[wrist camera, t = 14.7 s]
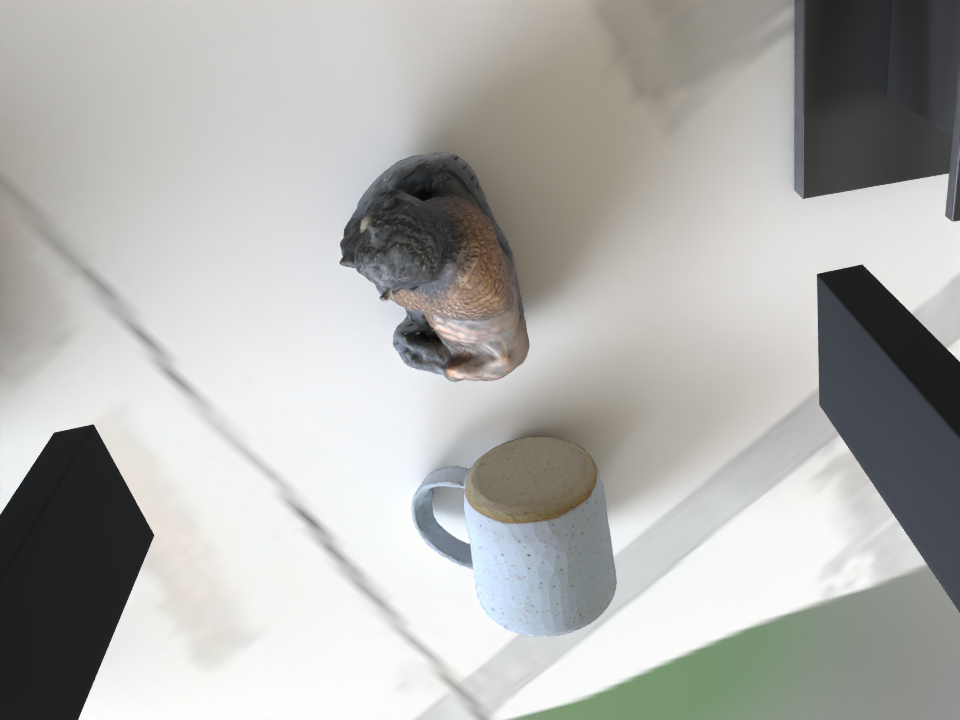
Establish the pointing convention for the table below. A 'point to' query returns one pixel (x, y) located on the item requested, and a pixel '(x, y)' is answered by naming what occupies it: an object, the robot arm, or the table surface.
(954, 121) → the stand
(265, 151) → the table surface
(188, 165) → the table surface
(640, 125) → the table surface
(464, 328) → the brown animal-shaped figure
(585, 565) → the ceramic mug
